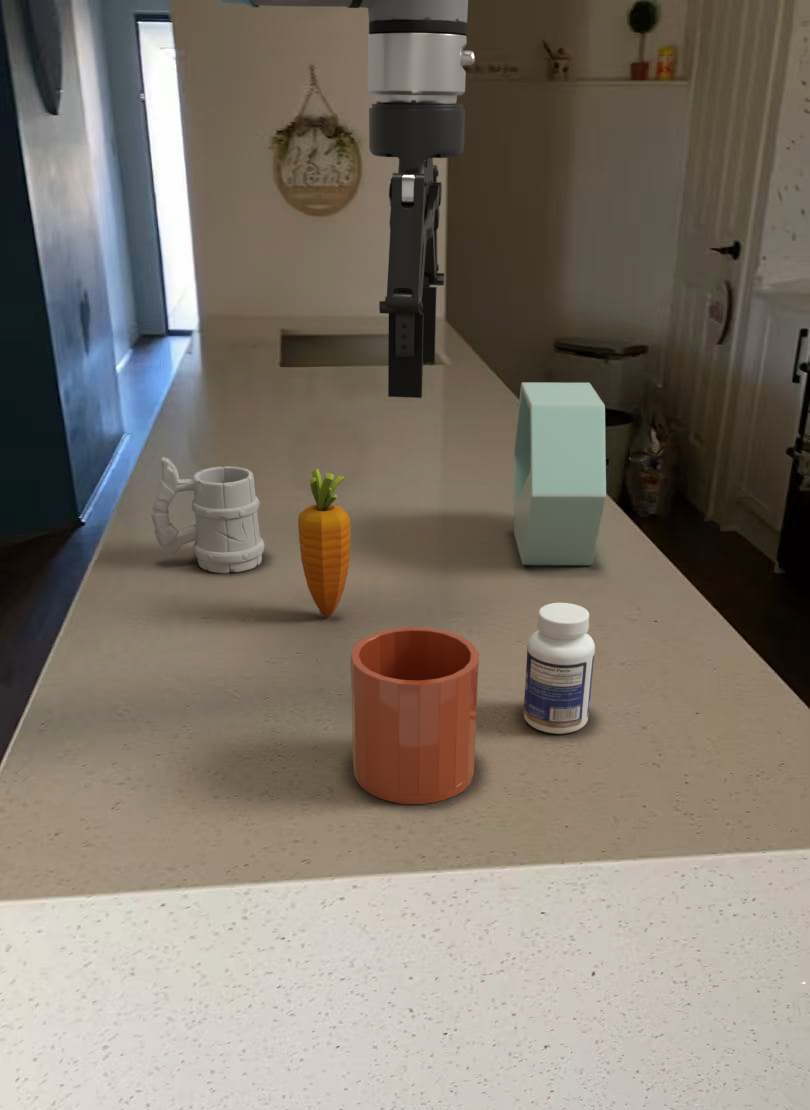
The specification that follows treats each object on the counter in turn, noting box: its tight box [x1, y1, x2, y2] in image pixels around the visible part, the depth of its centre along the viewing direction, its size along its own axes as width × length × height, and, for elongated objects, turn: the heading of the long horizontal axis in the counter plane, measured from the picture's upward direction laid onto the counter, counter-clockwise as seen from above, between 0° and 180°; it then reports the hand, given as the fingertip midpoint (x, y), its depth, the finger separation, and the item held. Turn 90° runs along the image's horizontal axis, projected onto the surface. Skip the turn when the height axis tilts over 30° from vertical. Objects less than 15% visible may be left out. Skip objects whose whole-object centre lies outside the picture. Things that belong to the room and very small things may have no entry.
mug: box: [150, 456, 266, 574], centre depth 118 cm, size 8×12×12 cm, turn 101°
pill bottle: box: [523, 602, 596, 735], centre depth 88 cm, size 5×5×10 cm
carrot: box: [297, 469, 351, 619], centre depth 104 cm, size 5×5×15 cm
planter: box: [513, 381, 607, 566], centre depth 121 cm, size 17×8×21 cm
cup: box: [350, 626, 480, 805], centre depth 81 cm, size 9×9×10 cm
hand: (413, 378), depth 95 cm, fingers open, 13 cm apart
